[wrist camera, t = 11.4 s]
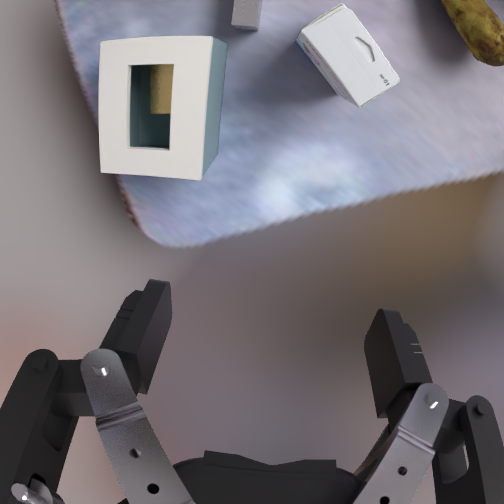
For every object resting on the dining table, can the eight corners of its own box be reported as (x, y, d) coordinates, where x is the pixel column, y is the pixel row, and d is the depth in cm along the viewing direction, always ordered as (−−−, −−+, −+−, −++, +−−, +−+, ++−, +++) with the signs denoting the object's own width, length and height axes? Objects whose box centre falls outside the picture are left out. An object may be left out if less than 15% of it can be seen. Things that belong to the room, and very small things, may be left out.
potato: (470, -22, 21) (503, -31, 15) (490, 64, 28) (526, 69, 21) (419, -29, 23) (447, -43, 16) (442, 63, 30) (475, 66, 23)
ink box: (291, 41, 31) (297, 29, 21) (325, 19, 29) (345, -1, 19) (336, 97, 34) (360, 109, 24) (369, 75, 32) (405, 81, 22)
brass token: (162, 108, 35) (150, 113, 32) (162, 61, 32) (150, 62, 29) (182, 108, 35) (172, 113, 32) (183, 60, 32) (173, 60, 29)
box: (139, 44, 32) (100, 41, 23) (227, 44, 31) (211, 36, 23) (135, 148, 39) (100, 172, 31) (217, 154, 39) (200, 180, 31)
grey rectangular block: (235, 29, 31) (231, 24, 27) (241, -16, 27) (237, -24, 24) (258, 30, 31) (256, 26, 27) (264, -14, 27) (262, -23, 24)
